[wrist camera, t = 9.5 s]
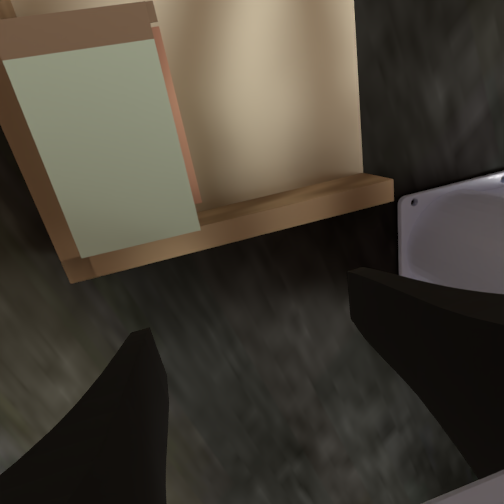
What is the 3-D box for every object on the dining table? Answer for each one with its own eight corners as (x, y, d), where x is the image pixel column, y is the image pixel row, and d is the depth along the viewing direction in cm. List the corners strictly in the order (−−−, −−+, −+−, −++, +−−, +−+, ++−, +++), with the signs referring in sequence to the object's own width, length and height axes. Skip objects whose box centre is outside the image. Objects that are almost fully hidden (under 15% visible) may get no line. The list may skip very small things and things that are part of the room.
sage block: (191, 200, 18) (200, 230, 13) (108, 219, 18) (81, 258, 12) (152, 46, 16) (145, 1, 10) (52, 61, 15) (-14, 21, 10)
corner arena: (338, -180, 15) (384, -264, 12) (360, 190, 21) (394, 201, 18) (-80, -154, 12) (-166, -252, 9) (87, 257, 19) (70, 283, 16)
